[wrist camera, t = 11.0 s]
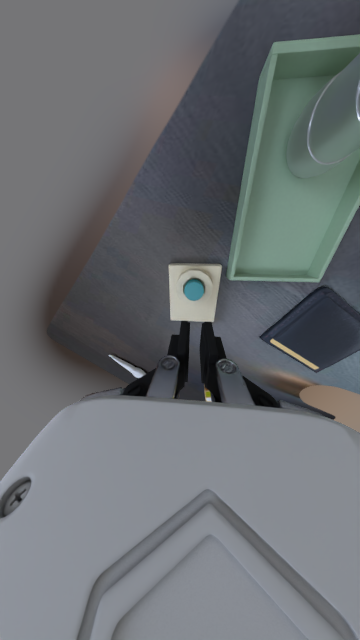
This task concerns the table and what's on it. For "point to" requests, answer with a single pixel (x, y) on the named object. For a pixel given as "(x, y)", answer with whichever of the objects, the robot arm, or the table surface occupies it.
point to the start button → (194, 290)
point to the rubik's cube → (207, 395)
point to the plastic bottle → (327, 125)
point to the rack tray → (278, 181)
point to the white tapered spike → (130, 367)
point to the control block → (187, 308)
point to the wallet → (317, 331)
